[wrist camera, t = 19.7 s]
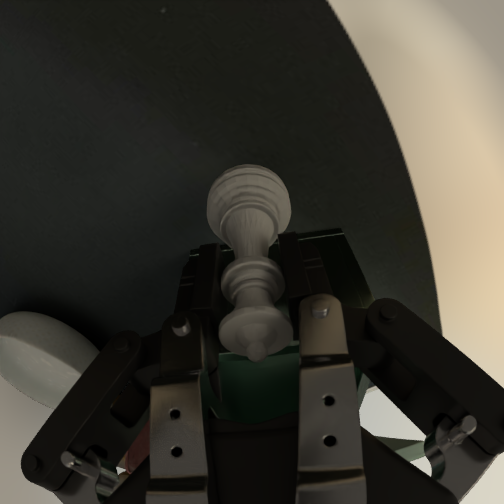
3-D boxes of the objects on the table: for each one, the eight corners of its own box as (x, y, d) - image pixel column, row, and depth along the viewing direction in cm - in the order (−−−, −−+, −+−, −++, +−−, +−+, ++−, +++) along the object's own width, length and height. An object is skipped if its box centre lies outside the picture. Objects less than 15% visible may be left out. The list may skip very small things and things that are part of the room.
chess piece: (276, 153, 15) (321, 291, 7) (296, 222, 17) (338, 377, 9) (195, 178, 15) (153, 330, 7) (224, 242, 18) (216, 400, 10)
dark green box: (190, 249, 23) (170, 357, 15) (340, 227, 22) (386, 327, 14) (234, 369, 33) (235, 446, 26) (333, 355, 33) (350, 431, 25)
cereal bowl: (119, 387, 37) (110, 430, 31) (20, 349, 32) (4, 387, 27) (129, 319, 28) (112, 379, 22) (-3, 268, 23) (-34, 314, 18)
